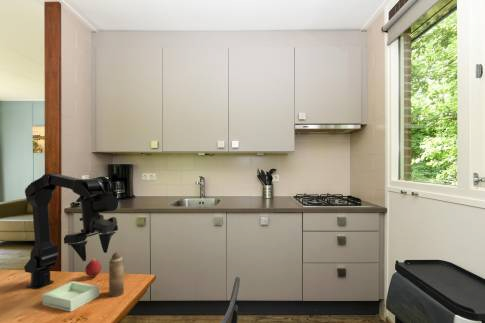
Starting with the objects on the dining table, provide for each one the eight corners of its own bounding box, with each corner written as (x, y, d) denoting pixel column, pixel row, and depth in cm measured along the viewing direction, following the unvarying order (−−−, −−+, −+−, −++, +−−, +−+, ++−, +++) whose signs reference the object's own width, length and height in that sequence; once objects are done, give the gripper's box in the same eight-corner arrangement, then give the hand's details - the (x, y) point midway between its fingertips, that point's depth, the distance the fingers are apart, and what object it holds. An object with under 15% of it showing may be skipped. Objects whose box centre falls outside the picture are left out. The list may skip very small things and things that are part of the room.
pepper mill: (106, 295, 100) (106, 253, 100) (116, 289, 104) (116, 249, 104) (116, 297, 98) (116, 255, 98) (126, 291, 102) (126, 251, 103)
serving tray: (42, 304, 93) (42, 294, 93) (72, 290, 104) (72, 281, 104) (70, 311, 89) (70, 300, 89) (99, 296, 99) (99, 286, 99)
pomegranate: (94, 281, 112) (94, 261, 112) (82, 280, 113) (82, 260, 113) (104, 275, 118) (104, 256, 118) (92, 274, 119) (92, 255, 119)
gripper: (85, 216, 89) (90, 265, 89) (127, 207, 107) (131, 248, 106) (60, 219, 93) (65, 266, 92) (104, 210, 111) (108, 249, 110)
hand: (95, 256), depth 100 cm, fingers open, 9 cm apart
